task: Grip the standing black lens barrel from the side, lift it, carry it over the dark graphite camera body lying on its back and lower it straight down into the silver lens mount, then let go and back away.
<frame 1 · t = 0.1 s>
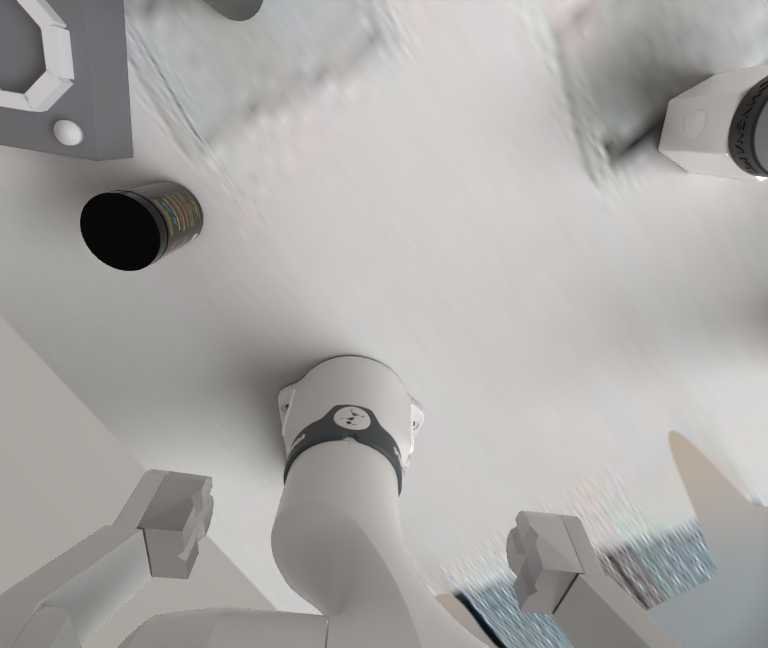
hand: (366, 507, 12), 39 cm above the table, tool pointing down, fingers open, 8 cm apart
jar: (700, 125, 44), on the table
supplement container: (175, 212, 47), on the table
camera body: (62, 57, 41), on the table
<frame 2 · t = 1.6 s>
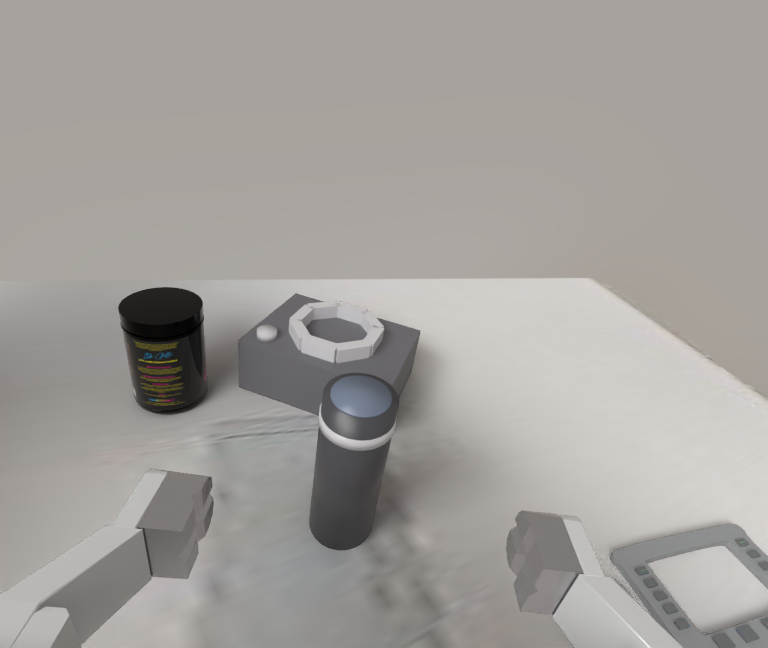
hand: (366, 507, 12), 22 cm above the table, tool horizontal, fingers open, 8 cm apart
lens: (340, 520, 35), on the table
supplement container: (173, 395, 44), on the table
camera body: (331, 378, 50), on the table
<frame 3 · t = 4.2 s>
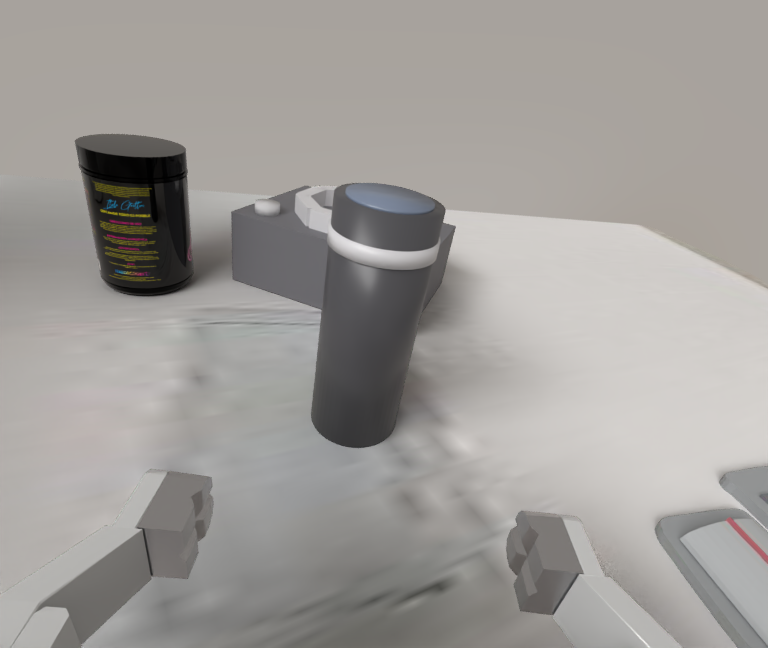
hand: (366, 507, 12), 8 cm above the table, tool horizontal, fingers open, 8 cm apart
lens: (353, 415, 26), on the table
supplement container: (150, 281, 36), on the table
camera body: (345, 281, 41), on the table
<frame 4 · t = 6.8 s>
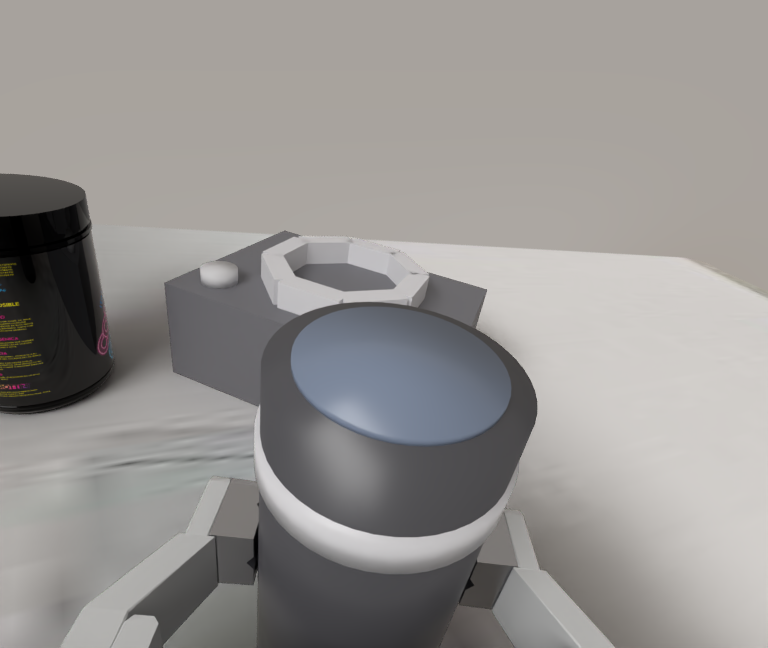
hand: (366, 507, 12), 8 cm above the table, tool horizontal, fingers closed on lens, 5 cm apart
supplement container: (48, 381, 25), on the table
camera body: (334, 365, 30), on the table
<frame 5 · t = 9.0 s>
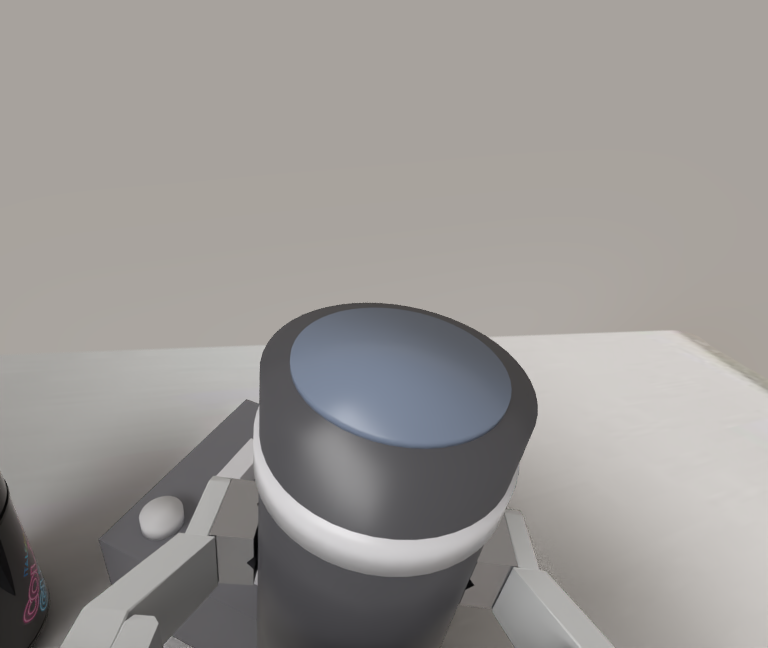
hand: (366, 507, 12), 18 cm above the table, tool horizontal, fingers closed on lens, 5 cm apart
camera body: (298, 568, 28), on the table
when the fingers open (14 cm above the table, at t = 10.9 s): lens stays where it is, resting on camera body.
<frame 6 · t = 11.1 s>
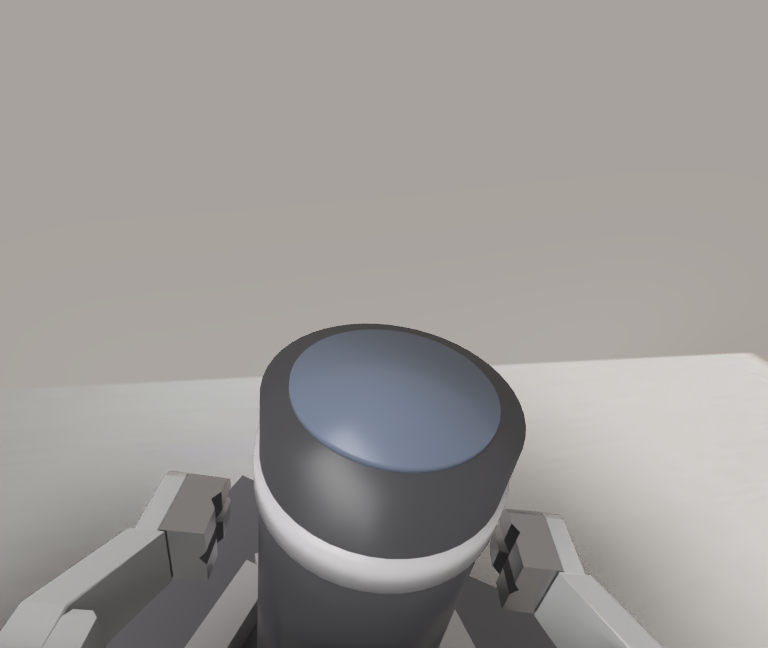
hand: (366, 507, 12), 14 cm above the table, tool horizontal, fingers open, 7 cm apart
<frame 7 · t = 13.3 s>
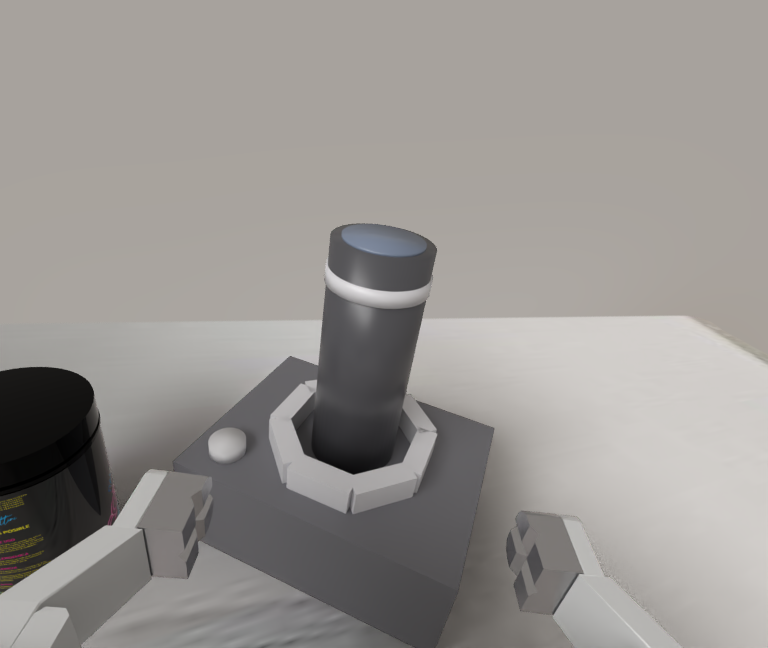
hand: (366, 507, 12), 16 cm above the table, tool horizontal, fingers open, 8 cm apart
lens: (352, 443, 27), point 6 cm above the table, touching camera body
supplement container: (56, 555, 25), on the table
camera body: (342, 507, 30), on the table
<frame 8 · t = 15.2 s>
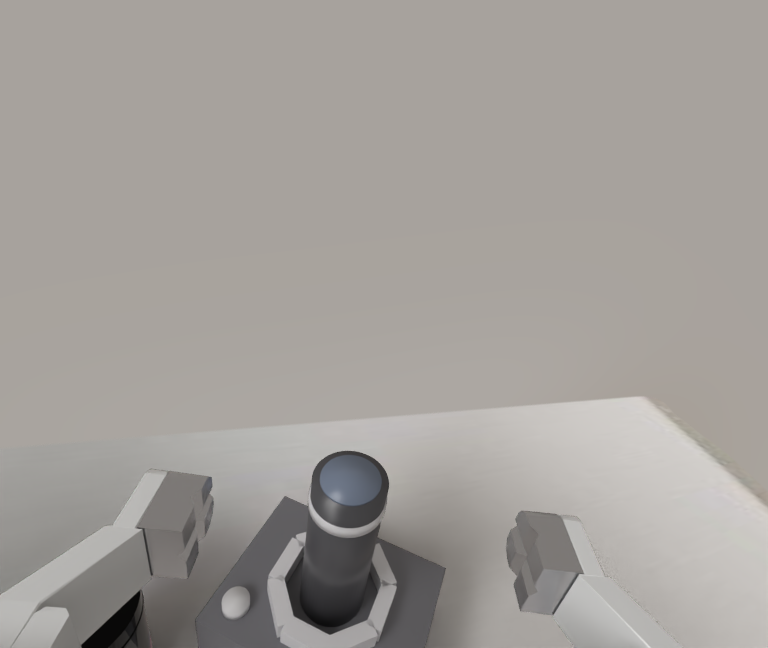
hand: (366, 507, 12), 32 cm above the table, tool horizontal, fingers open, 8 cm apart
lens: (331, 592, 35), point 6 cm above the table, touching camera body
camera body: (325, 630, 38), on the table
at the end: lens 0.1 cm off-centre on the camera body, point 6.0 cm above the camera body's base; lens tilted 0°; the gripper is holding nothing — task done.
